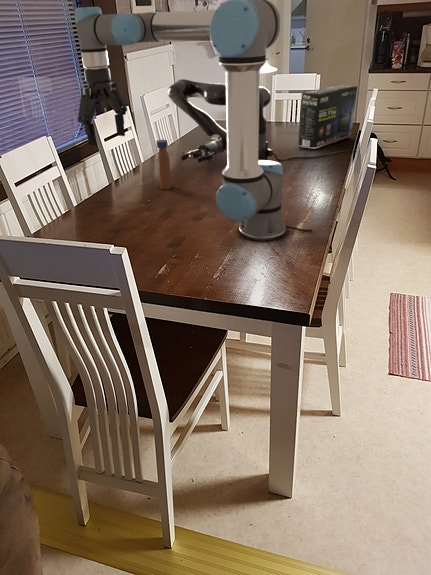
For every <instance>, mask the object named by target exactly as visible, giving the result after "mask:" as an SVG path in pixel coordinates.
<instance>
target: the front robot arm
mask: <svg viewBox="0 0 431 575" xmlns="http://www.w3.org/2000/svg"><path fill="white" fill-rule="evenodd" d="M74 19H75V27H76V32H77V36H78V37H77V38H78V43H79V48H80V49H79V50H80V54H81V60H82V67H83V68H85V69H84V70H83V72H84V79H85V82H86V83H87V85H88V87H80V100H79V101H80V102H79V108H78V115H77V122H78V123H80V124H83V126H84V131H85V136H87V142H88V146H91V147H92V146H94V147H97V146H98V142H97V137H96V131H95V125H94V124H95V123H93V122H92V121H93V119H94V115H95V114H96V109H97V107H98V105H99V104H100V102H101V103H102V102H104V101H106V102H107V104H108V105H109V107H111V109H112V110H113V111H114V113H115V115H114V121H115V128H116V134H117V136H118V137H126V130H125V118H124V116H125V115H127V112H128V108H127V105H126V103H125V101H124V99H123V96H122V94H121V92H120V90H119V86H118V82H116V81H114V82H113V81H112V77H111V70H110V68H109V67H108V66H110V63H109V55H108V54H109V53H108V49H107V46H124V47H126V46H133V45H136V44H139V43H161V42H162V43H165V42H166V43H167V42H170V43H171V42H173V43H175V42H176V43H177V42H179V43H181V42H183V43H184V42H188V43H190V42H193V43H194V42H198V43H199V42H206V43H207V42H210V43H211V45H212V46H213V47H214V49H215V51H216V52H217V53H218V65H220V67H222V69H223V70H224V73H225V74H224V75H225V76H224V77H225V84H226V105H225V115H226V117H225V118H226V129H227V149H226V161H227V162H226V163H227V164H226V166H225V167H224V168H223V169H222V170H221V180H222V181H221V183H222V185H220V187H218V189H217V191H216V194H215V202H216V203H215V204H216V206H217V208H218V211H219V212H220V213H221V214H223V216H224V217H225V218H226V219H228V220H230V221H233V222H239V226H238V232H239V235H240V236H241V237H242V238H244V239H247V240H250V241H254V242H271V241H277V240H279V239H281V238H283V237H285V235H286V234H287V229H290V230H295V231H299V232H303V233H304V232H306V233H310V232H313V229H312V228H310V229H309V228H308V229H304V228H299V227H295V226H291V225H287V223H286V221H285V216H284V214H283V210H282V200H283V183H284V168H283V164H282V163H280V161H277V160H276V161H275V160H270V159H268V160H258V151H259V87H260V80H261V79H260V76H261V75H260V73H261V68H262V67H263V66H264V65H265V64H266V62H267V49H269V48H270V47H272V46H273V45H274V44H275V43H276V41H277V40H278V38H279V36H280V33H281V29H282V28H281V27H282V18H281V14H280V11H279V9H278V7H276V6H275V4H274V3H273V2H271V1H270V0H226V1H224V2H222V3H221V4H219V6H218V7H217V8H216V9H206V10H205V9H203V10H202V9H201V10H183V11H181V10H179V11H159V12H150V11H149V12H138V13H126V12H124V13H110V14H103V13H102V9H101V8H100V6H86V7H84V6H83V7H81V6H80V7H77V8H75V10H74Z"/></svg>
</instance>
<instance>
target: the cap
mask: <svg viewBox="0 0 431 575" xmlns="http://www.w3.org/2000/svg"><path fill="white" fill-rule="evenodd" d="M155 144H156V148H166V149H167V148H168V147H169V146H168V140H167V139H157V140H156V141H155Z"/></svg>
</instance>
